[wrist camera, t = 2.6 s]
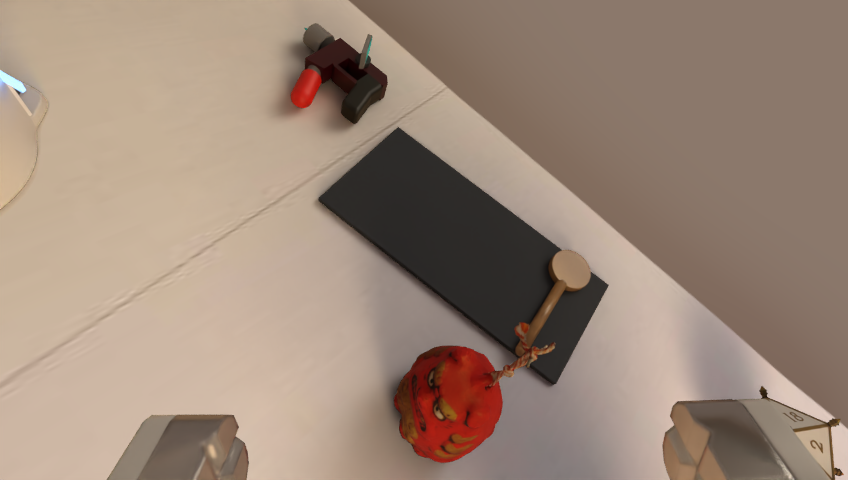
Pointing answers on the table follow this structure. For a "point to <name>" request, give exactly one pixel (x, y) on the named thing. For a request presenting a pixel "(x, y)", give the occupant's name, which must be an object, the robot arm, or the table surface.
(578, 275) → the spoon
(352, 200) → the placemat
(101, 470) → the table surface
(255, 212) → the table surface
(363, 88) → the toy gun
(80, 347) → the table surface
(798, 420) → the game die
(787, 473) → the robot arm
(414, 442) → the red clay folk toy
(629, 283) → the table surface
